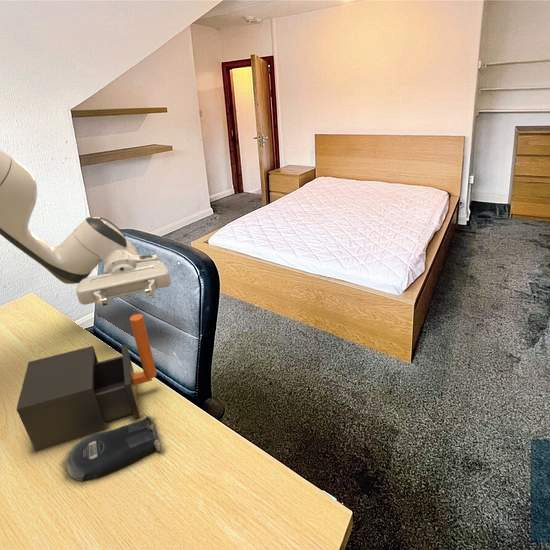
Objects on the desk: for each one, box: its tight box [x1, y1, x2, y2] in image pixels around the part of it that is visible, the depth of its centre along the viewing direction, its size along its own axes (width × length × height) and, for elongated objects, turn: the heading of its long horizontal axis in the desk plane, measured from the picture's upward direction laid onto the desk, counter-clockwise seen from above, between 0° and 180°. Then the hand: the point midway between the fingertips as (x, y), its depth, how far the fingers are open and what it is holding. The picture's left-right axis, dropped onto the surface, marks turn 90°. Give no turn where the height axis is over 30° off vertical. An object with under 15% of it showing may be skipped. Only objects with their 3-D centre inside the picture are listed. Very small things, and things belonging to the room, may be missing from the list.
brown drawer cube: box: [15, 345, 107, 452], centre depth 79 cm, size 12×14×11 cm
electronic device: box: [65, 413, 161, 482], centre depth 72 cm, size 9×6×15 cm
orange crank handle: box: [94, 313, 158, 423], centre depth 79 cm, size 16×14×18 cm
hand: (126, 298), depth 88 cm, fingers open, 8 cm apart
